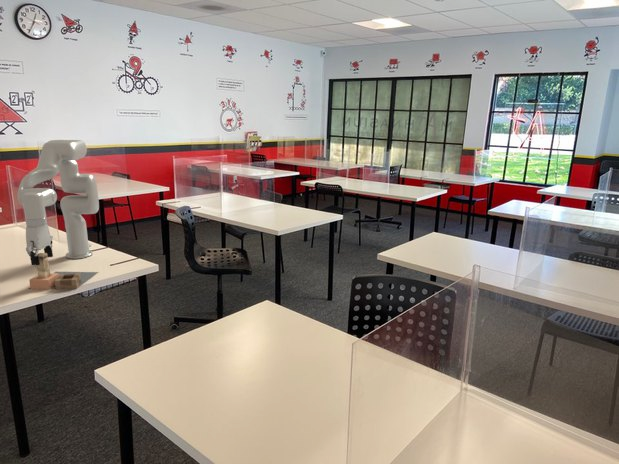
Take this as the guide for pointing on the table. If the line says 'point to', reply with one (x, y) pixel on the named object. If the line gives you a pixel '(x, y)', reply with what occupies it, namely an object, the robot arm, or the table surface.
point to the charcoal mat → (84, 277)
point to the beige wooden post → (43, 266)
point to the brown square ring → (68, 281)
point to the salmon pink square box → (43, 282)
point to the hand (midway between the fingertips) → (42, 260)
